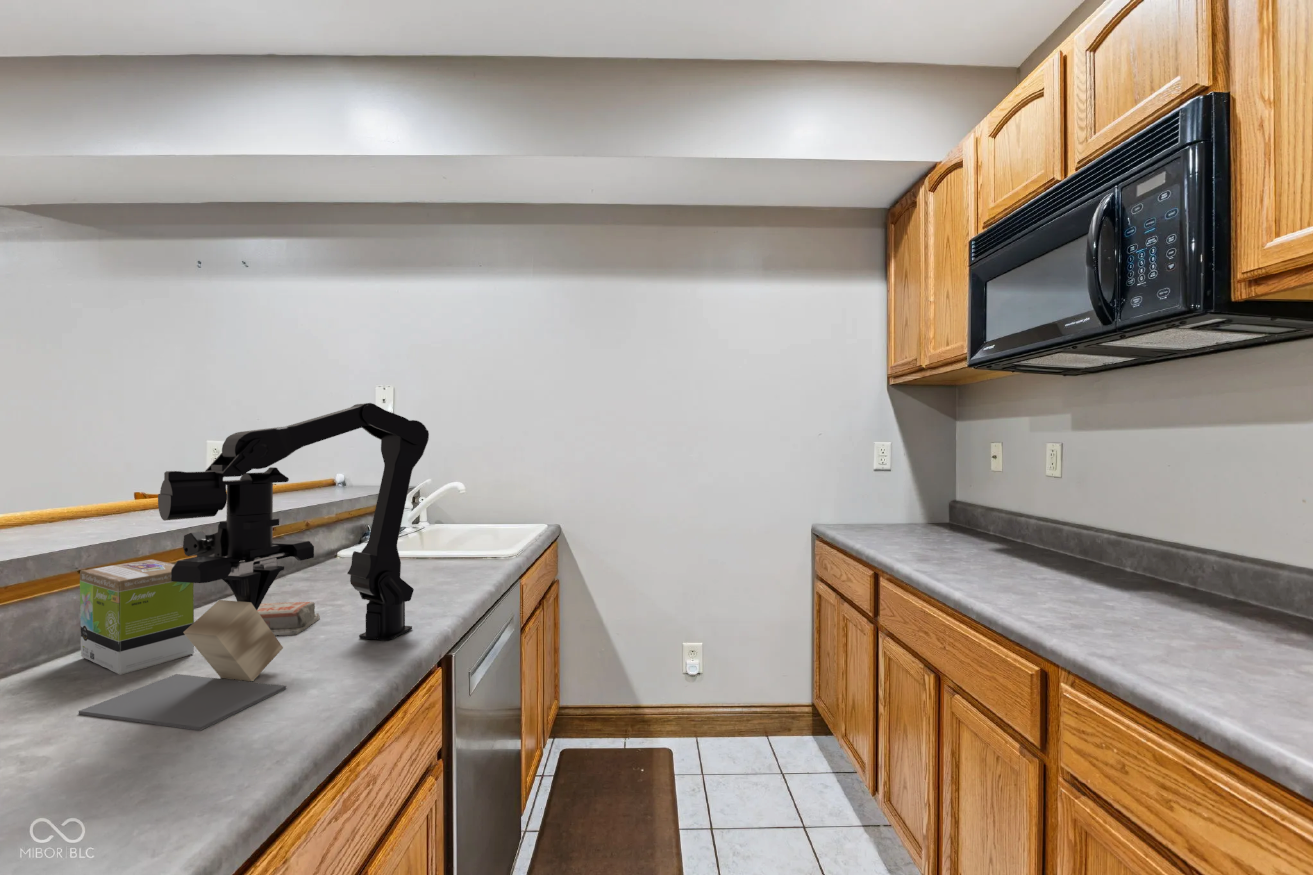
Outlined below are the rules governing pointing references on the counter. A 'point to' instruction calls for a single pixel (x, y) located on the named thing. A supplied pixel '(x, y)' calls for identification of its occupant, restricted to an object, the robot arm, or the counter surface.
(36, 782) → the counter surface
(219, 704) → the rubber mat
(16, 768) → the counter surface
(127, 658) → the tea box
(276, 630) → the packaged product
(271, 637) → the birch block
